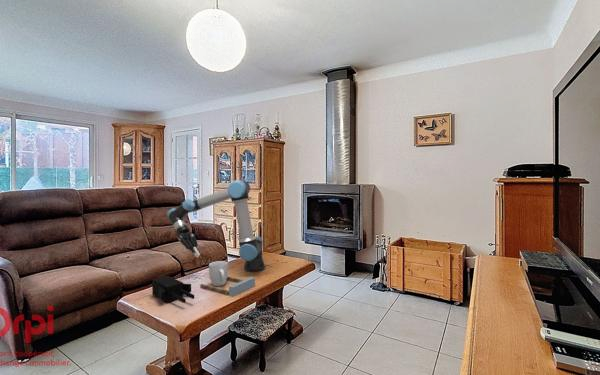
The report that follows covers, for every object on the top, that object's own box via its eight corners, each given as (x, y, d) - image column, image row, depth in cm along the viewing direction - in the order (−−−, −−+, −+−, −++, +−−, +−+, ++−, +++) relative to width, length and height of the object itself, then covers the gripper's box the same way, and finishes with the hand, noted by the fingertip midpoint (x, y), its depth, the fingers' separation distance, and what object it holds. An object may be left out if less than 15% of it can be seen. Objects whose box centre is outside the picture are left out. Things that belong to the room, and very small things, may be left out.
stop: (229, 295, 164) (228, 286, 164) (251, 285, 180) (251, 277, 179) (233, 296, 162) (232, 287, 162) (254, 286, 178) (254, 277, 178)
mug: (232, 286, 177) (232, 265, 177) (214, 291, 171) (214, 268, 171) (224, 280, 190) (224, 259, 189) (207, 283, 184) (206, 262, 183)
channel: (200, 288, 176) (200, 284, 176) (224, 278, 192) (223, 275, 192) (228, 295, 164) (227, 291, 164) (250, 284, 180) (250, 281, 180)
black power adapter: (204, 303, 157) (174, 288, 175) (204, 285, 156) (174, 273, 175) (174, 314, 144) (146, 297, 162) (174, 295, 143) (145, 281, 162)
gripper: (187, 230, 206) (203, 257, 197) (170, 233, 195) (186, 262, 186) (192, 223, 203) (208, 250, 194) (175, 226, 192) (192, 254, 183)
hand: (198, 256), depth 190 cm, fingers closed
